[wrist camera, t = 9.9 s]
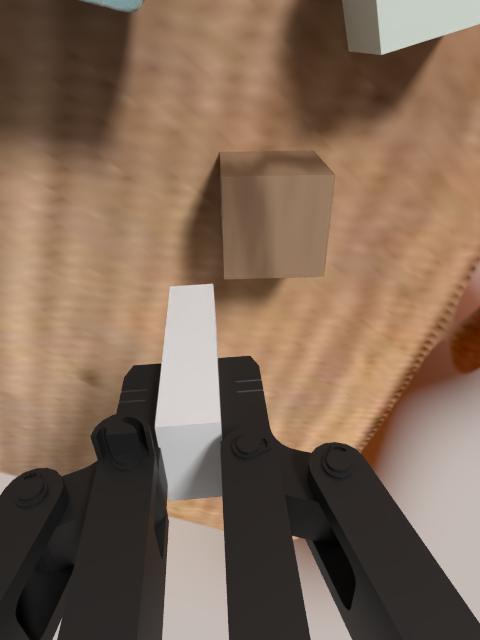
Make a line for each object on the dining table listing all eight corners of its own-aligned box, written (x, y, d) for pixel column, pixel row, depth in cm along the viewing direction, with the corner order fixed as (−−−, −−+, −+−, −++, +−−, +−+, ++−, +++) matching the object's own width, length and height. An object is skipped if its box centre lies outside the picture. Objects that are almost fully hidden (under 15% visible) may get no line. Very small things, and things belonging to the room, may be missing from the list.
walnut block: (223, 279, 27) (324, 276, 27) (221, 176, 23) (335, 174, 24) (221, 240, 32) (306, 238, 32) (219, 151, 28) (313, 150, 29)
